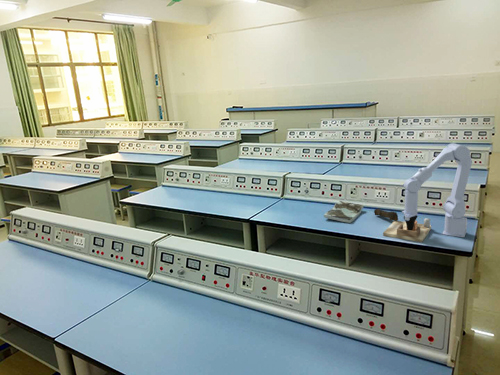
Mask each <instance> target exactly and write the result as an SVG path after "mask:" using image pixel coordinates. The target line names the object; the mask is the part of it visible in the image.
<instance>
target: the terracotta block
mask: <svg viewBox="0 0 500 375" xmlns="http://www.w3.org/2000/svg"><path fill="white" fill-rule="evenodd" d="M417 223H418V221H417V220H415V223H414V227H413V230H410V231H415V230H416V229H417V228H418V227H417ZM407 230H408V229H407Z"/></svg>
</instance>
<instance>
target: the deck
mask: <svg viewBox="0 0 500 375" xmlns="http://www.w3.org/2000/svg"><path fill="white" fill-rule="evenodd" d="M431 230H432V225H431V224H430V227H429V228H426V227H424V223H418V222H417V229H416V230H415V231H410V230H407V225H406V221H402V220H398V221H394V220H393V221H392V223H391V224H390V225H388V227H387V228H386V229H385V230H384V231H383V234H382V236H384V237H388V238H395V239H399V240H405V241H406V240H408V241H413V242H419V243H423V241H424V240H425V239H426V237H427V236H428V235H429V232H430V231H431Z"/></svg>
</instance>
